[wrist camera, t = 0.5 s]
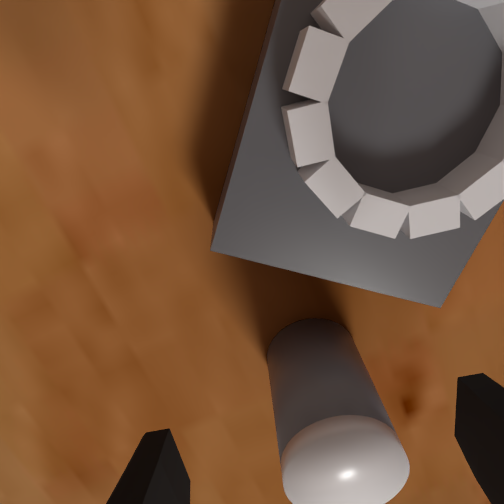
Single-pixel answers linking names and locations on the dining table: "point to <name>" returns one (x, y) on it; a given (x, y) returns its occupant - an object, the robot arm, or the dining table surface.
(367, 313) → the dining table surface
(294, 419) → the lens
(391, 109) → the grey flange plate
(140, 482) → the robot arm
